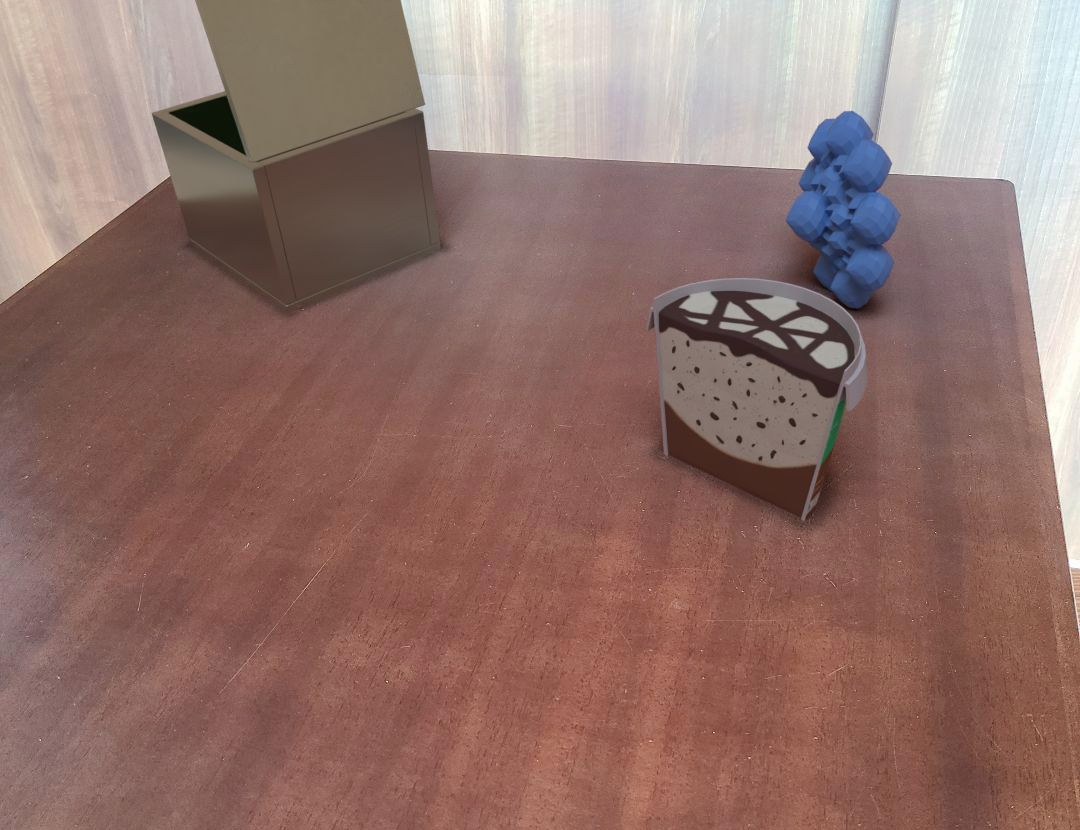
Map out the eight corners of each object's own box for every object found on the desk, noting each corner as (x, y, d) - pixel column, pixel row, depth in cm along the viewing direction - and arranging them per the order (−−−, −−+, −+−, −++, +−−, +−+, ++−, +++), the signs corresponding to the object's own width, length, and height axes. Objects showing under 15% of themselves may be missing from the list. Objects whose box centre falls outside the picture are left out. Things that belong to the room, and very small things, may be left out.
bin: (192, 248, 84) (150, 112, 77) (336, 195, 91) (310, 65, 83) (288, 316, 75) (252, 169, 68) (442, 252, 81) (423, 111, 74)
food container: (887, 480, 57) (921, 320, 51) (828, 537, 54) (856, 375, 48) (706, 401, 64) (715, 251, 57) (643, 448, 61) (645, 295, 54)
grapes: (747, 263, 77) (761, 97, 69) (833, 250, 78) (856, 84, 70) (809, 341, 68) (832, 162, 60) (905, 325, 69) (940, 147, 61)
